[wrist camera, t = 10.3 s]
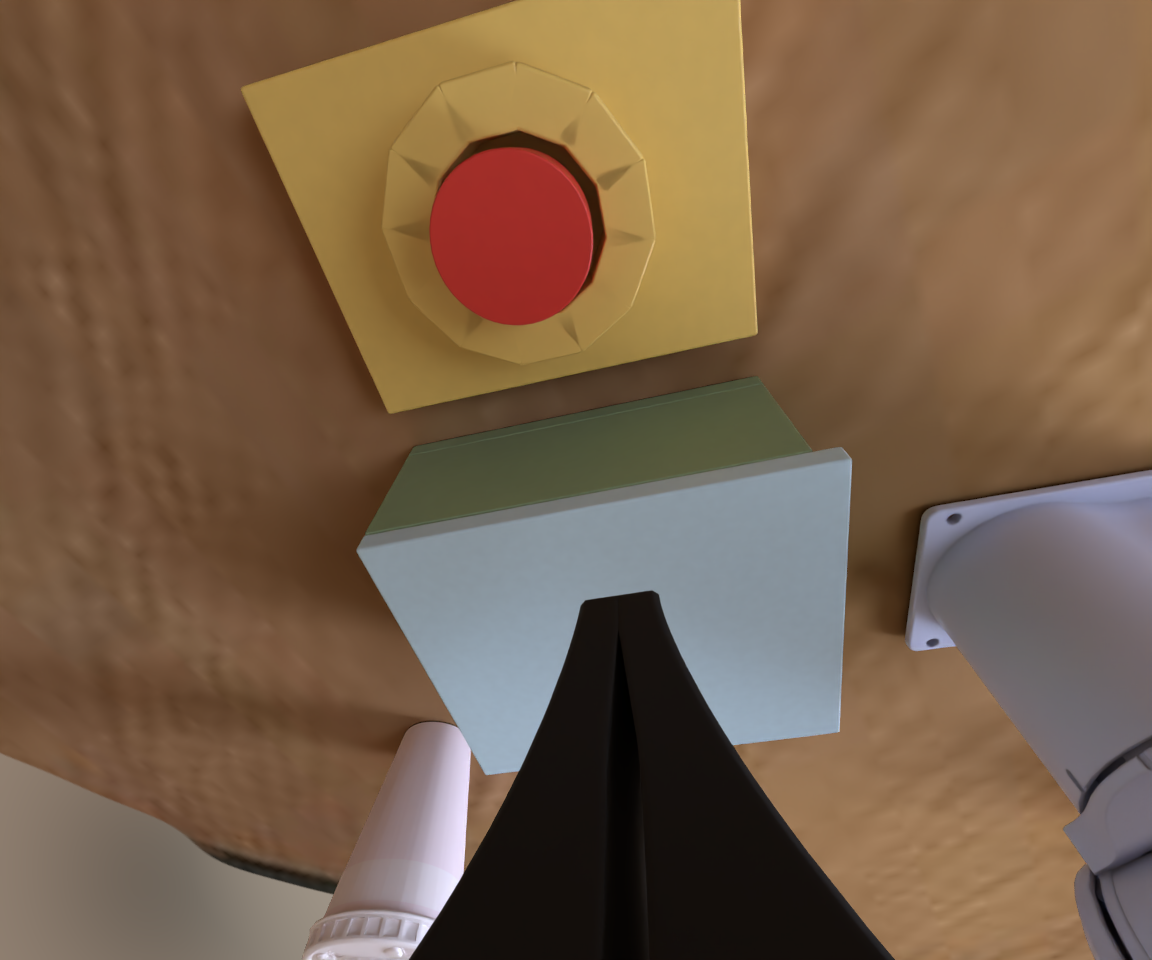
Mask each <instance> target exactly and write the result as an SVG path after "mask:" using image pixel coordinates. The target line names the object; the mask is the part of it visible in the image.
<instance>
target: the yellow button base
mask: <svg viewBox="0 0 1152 960" xmlns="http://www.w3.org/2000/svg"><path fill="white" fill-rule="evenodd" d="M241 92H242V94H243V97H244V99H245V101H246V103H247V105H248V107H249V110H250V112H251V114H252V116H253V118H254V121H255V123H256V125H257V127H258V129H259V131H260V134H261V136H262V138H263V140H264V142H265V145H266V147H267V149H268V151H269V153H270V156H271V158H272V160H273V162H274V164H275V166H276V169H277V171H278V173H279V175H280V177H281V180H282V182H283V184H284V186H285V188H286V191H287V193H288V195H289V197H290V199H291V201H292V204H293V206H294V208H295V210H296V212H297V215H298V217H299V219H300V221H301V223H302V226H303V228H304V230H305V232H306V234H307V236H308V239H309V241H310V243H311V245H312V247H313V250H314V252H315V254H316V256H317V258H318V261H319V263H320V265H321V267H322V269H323V271H324V274H325V276H326V278H327V280H328V282H329V285H330V287H331V289H332V291H333V293H334V296H335V298H336V300H337V302H338V304H339V306H340V309H341V311H342V313H343V315H344V317H345V320H346V322H347V324H348V326H349V328H350V330H351V333H352V335H353V337H354V339H355V341H356V344H357V346H358V348H359V350H360V352H361V355H362V357H363V359H364V361H365V363H366V365H367V368H368V370H369V372H370V374H371V376H372V379H373V381H374V383H375V385H376V387H377V390H378V392H379V394H380V396H381V398H382V400H383V403H384V405H385V407H386V409H387V411H388V413H389V414H393V413H398V412H402V411H407V410H412V409H416V408H421V407H425V406H430V405H435V404H439V403H444V402H449V401H453V400H458V399H463V398H467V397H472V396H476V395H481V394H486V393H490V392H495V391H500V390H504V389H509V388H513V387H518V386H523V385H527V384H532V383H537V382H541V381H546V380H551V379H555V378H560V377H564V376H569V375H574V374H578V373H583V372H588V371H592V370H597V369H602V368H606V367H611V366H615V365H620V364H625V363H629V362H634V361H639V360H643V359H648V358H652V357H657V356H662V355H666V354H671V353H676V352H680V351H685V350H690V349H694V348H699V347H703V346H708V345H713V344H717V343H722V342H727V341H731V340H736V339H740V338H745V337H750V336H754V335H757V332H758V330H757V311H756V292H755V273H754V254H753V235H752V216H751V197H750V178H749V159H748V140H747V121H746V102H745V83H744V64H743V45H742V26H741V7H740V0H515V1H512V2H509V3H506V4H503V5H500V6H496V7H493V8H490V9H487V10H484V11H481V12H477V13H474V14H471V15H468V16H465V17H461V18H458V19H455V20H452V21H449V22H446V23H442V24H439V25H436V26H433V27H430V28H427V29H423V30H420V31H417V32H414V33H411V34H408V35H404V36H401V37H398V38H395V39H392V40H388V41H385V42H382V43H379V44H376V45H373V46H369V47H366V48H363V49H360V50H357V51H354V52H350V53H347V54H344V55H341V56H338V57H335V58H331V59H328V60H325V61H322V62H319V63H315V64H312V65H309V66H306V67H303V68H300V69H296V70H293V71H290V72H287V73H284V74H281V75H277V76H274V77H271V78H268V79H265V80H262V81H258V82H255V83H252V84H249V85H246V86H243V87H242V88H241ZM506 147H523V148H530V149H533V150H537V151H540V152H542V153H545V154H547V155H549V156H550V157H552V158H554V159H555V160H557V161H558V162H559V163H561V164H562V165H563V166H564V167H565V168H566V169H567V170H568V171H569V172H570V173H571V174H572V175H573V176H574V178H575V179H576V181H577V182H578V183H579V185H580V187H581V189H582V191H583V193H584V195H585V197H586V200H587V202H588V205H589V209H590V213H591V220H592V229H593V254H592V260H591V265H590V269H589V272H588V274H587V277H586V280H585V282H584V283H583V285H582V287H581V289H580V291H579V292H578V293H577V295H576V296H575V298H574V299H573V300H572V301H571V302H570V303H569V304H568V305H567V306H566V307H565V308H564V309H562V310H561V311H560V312H558V313H557V314H555V315H554V316H552V317H550V318H548V319H546V320H543V321H540V322H537V323H534V324H528V325H504V324H500V323H496V322H492V321H490V320H487V319H484V318H482V317H481V316H479V315H477V314H475V313H473V312H472V311H471V310H469V309H468V308H466V307H465V306H464V305H463V304H462V303H460V302H459V301H458V300H457V299H456V297H455V296H454V295H453V294H452V293H451V292H450V290H449V289H448V288H447V286H446V285H445V283H444V282H443V280H442V278H441V276H440V274H439V272H438V270H437V267H436V265H435V262H434V259H433V255H432V252H431V246H430V236H429V225H430V215H431V211H432V206H433V203H434V200H435V197H436V195H437V193H438V191H439V189H440V187H441V185H442V183H443V182H444V180H445V179H446V178H447V176H448V175H449V174H450V173H451V172H452V171H453V170H454V168H455V167H456V166H458V165H459V164H460V163H462V162H463V161H464V160H466V159H467V158H469V157H471V156H473V155H475V154H477V153H480V152H482V151H485V150H490V149H495V148H506Z"/></svg>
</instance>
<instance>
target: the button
mask: <svg viewBox="0 0 1152 960" xmlns="http://www.w3.org/2000/svg"><path fill="white" fill-rule="evenodd" d="M429 236H430V246H431V252H432V255H433V259H434V262H435V265H436V267H437V270H438V272H439V274H440V276H441V278H442V280H443V282H444V283H445V285H446V286H447V288H448V289H449V290H450V292H451V293H452V294H453V295H454V296H455V297H456V299H457V300H458V301H459V302H460V303H462V304H463V305H464V306H465V307H466V308H468V309H469V310H471V311H472V312H473V313H475V314H477V315H479V316H481V317H482V318H484V319H487V320H490V321H492V322H496V323H500V324H504V325H528V324H534V323H537V322H540V321H543V320H546V319H548V318H550V317H552V316H554V315H555V314H557V313H558V312H560V311H561V310H562V309H564V308H565V307H566V306H567V305H568V304H569V303H570V302H571V301H572V300H573V299H574V298H575V296H576V295H577V293H578V292H579V291H580V289H581V287H582V285H583V283H584V282H585V280H586V277H587V274H588V272H589V269H590V265H591V260H592V254H593V229H592V220H591V213H590V209H589V205H588V202H587V200H586V197H585V195H584V193H583V191H582V189H581V187H580V185H579V183H578V182H577V181H576V179H575V178H574V176H573V175H572V174H571V173H570V172H569V171H568V170H567V169H566V168H565V167H564V166H563V165H562V164H561V163H559V162H558V161H557V160H555V159H554V158H552V157H550V156H549V155H547V154H545V153H542V152H540V151H537V150H533V149H530V148H523V147H506V148H495V149H490V150H485V151H482V152H480V153H477V154H475V155H473V156H471V157H469V158H467V159H466V160H464V161H463V162H462V163H460V164H459V165H458V166H456V167H455V168H454V170H453V171H452V172H451V173H450V174H449V175H448V176H447V178H446V179H445V180H444V182H443V183H442V185H441V187H440V189H439V191H438V193H437V195H436V197H435V200H434V203H433V206H432V211H431V215H430V225H429Z"/></svg>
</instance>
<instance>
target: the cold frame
mask: <svg viewBox="0 0 1152 960" xmlns="http://www.w3.org/2000/svg"><path fill="white" fill-rule="evenodd" d="M809 452H813V451H812V449H811V448H810V447H809V445H808V444H807V443H806V441H805V440H804V439H803V437H802V436H801V435H800V433H799V432H798V430H797V429H796V428H795V426H794V425H793V424H792V422H791V421H790V420H789V418H788V417H787V416H786V414H785V413H784V412H783V410H782V409H781V407H780V406H779V405H778V403H777V402H776V401H775V399H774V398H773V397H772V395H771V394H770V393H769V391H768V390H767V389H766V387H765V386H764V384H763V383H762V382H761V380H760V379H759V378H758V376H754V377H749V378H745V379H740V380H735V381H730V382H725V383H720V384H715V385H711V386H706V387H701V388H696V389H691V390H686V391H681V392H677V393H672V394H667V395H662V396H657V397H652V398H647V399H643V400H638V401H633V402H628V403H623V404H618V405H613V406H609V407H604V408H599V409H594V410H589V411H584V412H579V413H575V414H570V415H565V416H560V417H555V418H550V419H545V420H541V421H536V422H531V423H526V424H521V425H516V426H511V427H507V428H502V429H497V430H492V431H487V432H482V433H478V434H473V435H468V436H463V437H458V438H453V439H448V440H444V441H439V442H434V443H429V444H424V445H419V446H414V447H413V449H412V451H411V452H410V454H409V456H408V458H407V459H406V461H405V463H404V465H403V467H402V468H401V470H400V472H399V474H398V475H397V477H396V479H395V481H394V483H393V484H392V486H391V488H390V490H389V491H388V493H387V495H386V497H385V499H384V500H383V502H382V504H381V506H380V507H379V509H378V511H377V513H376V515H375V516H374V518H373V520H372V522H371V523H370V525H369V527H368V529H367V531H366V532H365V535H371V534H377V533H382V532H387V531H393V530H398V529H403V528H409V527H414V526H419V525H425V524H430V523H435V522H441V521H446V520H452V519H457V518H462V517H468V516H473V515H478V514H484V513H489V512H494V511H500V510H505V509H510V508H516V507H521V506H526V505H532V504H537V503H542V502H548V501H553V500H558V499H564V498H569V497H574V496H580V495H585V494H590V493H596V492H601V491H606V490H612V489H617V488H622V487H628V486H633V485H638V484H644V483H649V482H654V481H660V480H665V479H670V478H676V477H681V476H686V475H692V474H697V473H702V472H708V471H713V470H718V469H724V468H729V467H735V466H740V465H745V464H751V463H756V462H761V461H767V460H772V459H777V458H783V457H788V456H793V455H799V454H804V453H809Z"/></svg>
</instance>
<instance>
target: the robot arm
mask: <svg viewBox="0 0 1152 960" xmlns="http://www.w3.org/2000/svg"><path fill="white" fill-rule="evenodd" d="M952 514H954V515H953V516H952V517H950V518H948V517H949V516H950V515H952ZM905 643H906V644H907V646H908V647H909V648H910V649H911V650H914V651H922V650H929V649H937V648H944V647H951V646H957V648H958V649H959V651H960V652H961V653H962V655H963V656H964V657H965V659H966V660H967V661H968V663H969V664H970V665H971V667H972V668H973V670H974V671H975V672H976V674H977V675H978V676H979V678H980V679H981V680H982V682H983V683H984V684H985V686H986V687H987V689H988V690H989V691H990V693H991V694H992V695H993V697H994V698H995V699H996V701H997V702H998V703H999V705H1000V706H1001V707H1002V709H1003V710H1004V712H1005V713H1006V714H1007V716H1008V717H1009V718H1010V720H1011V721H1012V722H1013V724H1014V725H1015V726H1016V728H1017V729H1018V731H1019V732H1020V733H1021V735H1022V736H1023V737H1024V739H1025V740H1026V741H1027V743H1028V744H1029V745H1030V747H1031V748H1032V750H1033V751H1034V752H1035V754H1036V755H1037V756H1038V758H1039V759H1040V760H1041V762H1042V763H1043V764H1044V766H1045V767H1046V768H1047V770H1048V771H1049V773H1050V774H1051V775H1052V777H1053V778H1054V779H1055V781H1056V782H1057V783H1058V785H1059V786H1060V787H1061V789H1062V790H1063V792H1064V793H1065V794H1066V796H1067V797H1068V798H1069V800H1070V801H1071V802H1072V804H1073V805H1074V806H1075V808H1076V809H1077V811H1078V812H1079V813H1080V816H1079V817H1078V818H1076V819H1075V820H1074V821H1073V822H1071V823H1069V824H1068V825H1066V826H1065V827H1064V829H1063V830H1064V832H1065V833H1066V835H1067V836H1068V837H1069V839H1070V840H1071V842H1072V843H1073V845H1074V846H1075V848H1076V849H1077V850H1078V852H1079V853H1080V855H1081V856H1082V858H1083V859H1084V860H1085V862H1086V863H1087V864H1085V865H1084V866H1083V867H1082V868H1081V869H1080V870H1079V871H1078V872H1077V874H1076V878H1075V882H1074V889H1075V899H1076V904H1077V908H1078V912H1079V916H1080V918H1081V921H1082V926H1083V930H1084V933H1085V936H1086V939H1087V942H1088V945H1089V947H1090V949H1091V952H1092V954H1093V956H1094V958H1095V960H1152V470H1147V471H1141V472H1135V473H1129V474H1123V475H1117V476H1111V477H1105V478H1099V479H1093V480H1087V481H1081V482H1075V483H1069V484H1063V485H1057V486H1051V487H1045V488H1039V489H1033V490H1027V491H1021V492H1015V493H1009V494H1003V495H997V496H991V497H985V498H979V499H973V500H967V501H961V502H955V503H949V504H944V505H938V506H934V507H931V508H929V509H927V510H926V511H925V512H924V513H923V515H922V518H921V523H920V531H919V538H918V546H917V553H916V560H915V568H914V575H913V583H912V590H911V597H910V605H909V612H908V619H907V627H906V634H905ZM409 960H895V959H894V958H893V957H892V956H891V955H890V953H889V952H888V951H887V950H886V949H885V947H884V946H883V945H882V944H881V943H880V942H879V940H878V939H877V938H876V937H875V936H874V934H873V933H872V932H871V931H870V930H869V928H868V927H867V926H866V925H865V923H864V922H863V921H862V920H861V918H860V917H859V916H858V915H857V913H856V912H855V911H854V910H853V908H852V907H851V906H850V905H849V903H848V902H847V901H846V900H845V898H844V897H843V896H842V894H841V893H840V892H839V891H838V889H837V888H836V887H835V886H834V884H833V883H832V882H831V881H830V879H829V878H828V877H827V876H826V874H825V873H824V872H823V871H822V869H821V868H820V867H819V866H818V864H817V863H816V862H815V860H814V859H813V858H812V857H811V855H810V854H809V853H808V852H807V850H806V849H805V848H804V846H803V845H802V844H801V842H800V841H799V840H798V838H797V837H796V836H795V834H794V833H793V832H792V830H791V829H790V827H789V826H788V825H787V823H786V822H785V821H784V819H783V818H782V817H781V815H780V814H779V813H778V811H777V810H776V808H775V807H774V806H773V804H772V803H771V801H770V800H769V799H768V797H767V796H766V794H765V793H764V791H763V790H762V789H761V787H760V786H759V784H758V783H757V781H756V780H755V779H754V777H753V776H752V774H751V773H750V771H749V770H748V768H747V767H746V765H745V764H744V762H743V761H742V759H741V758H740V756H739V755H738V753H737V751H736V750H735V748H734V747H733V745H732V744H731V742H730V740H729V739H728V737H727V736H726V734H725V732H724V731H723V729H722V728H721V726H720V724H719V723H718V721H717V720H716V718H715V716H714V715H713V713H712V711H711V709H710V708H709V706H708V704H707V703H706V701H705V699H704V697H703V695H702V694H701V692H700V690H699V688H698V686H697V684H696V683H695V681H694V679H693V677H692V675H691V673H690V671H689V670H688V668H687V666H686V664H685V662H684V660H683V658H682V656H681V654H680V652H679V649H678V647H677V645H676V643H675V640H674V638H673V636H672V634H671V631H670V629H669V626H668V624H667V621H666V618H665V616H664V612H663V609H662V606H661V602H660V597H659V594H658V593H656V592H654V591H652V590H650V591H643V592H637V593H630V594H623V595H617V596H610V597H603V598H596V599H590V600H585V601H584V602H583V603H582V605H581V606H580V611H579V615H578V619H577V623H576V626H575V630H574V634H573V637H572V640H571V643H570V647H569V650H568V653H567V656H566V659H565V662H564V665H563V667H562V670H561V673H560V676H559V678H558V681H557V683H556V686H555V689H554V691H553V694H552V697H551V699H550V702H549V705H548V707H547V710H546V712H545V714H544V717H543V719H542V721H541V724H540V726H539V728H538V730H537V733H536V735H535V737H534V739H533V742H532V744H531V746H530V748H529V751H528V753H527V755H526V757H525V760H524V762H523V764H522V766H521V768H520V770H519V772H518V774H517V776H516V778H515V780H514V783H513V785H512V787H511V789H510V791H509V792H508V794H507V796H506V798H505V800H504V802H503V804H502V806H501V808H500V810H499V812H498V814H497V815H496V817H495V819H494V821H493V823H492V825H491V827H490V828H489V830H488V832H487V834H486V836H485V837H484V839H483V841H482V843H481V844H480V846H479V848H478V849H477V851H476V853H475V855H474V856H473V858H472V860H471V862H470V863H469V865H468V867H467V869H466V870H465V872H464V874H463V875H462V877H461V879H460V881H459V882H458V884H457V885H456V887H455V889H454V890H453V892H452V894H451V895H450V897H449V899H448V900H447V902H446V903H445V905H444V907H443V908H442V910H441V911H440V913H439V915H438V916H437V918H436V919H435V921H434V922H433V924H432V925H431V927H430V928H429V930H428V931H427V933H426V934H425V936H424V937H423V939H422V940H421V942H420V943H419V945H418V946H417V948H416V949H415V951H414V952H413V954H412V955H411V957H410V958H409Z"/></svg>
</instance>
